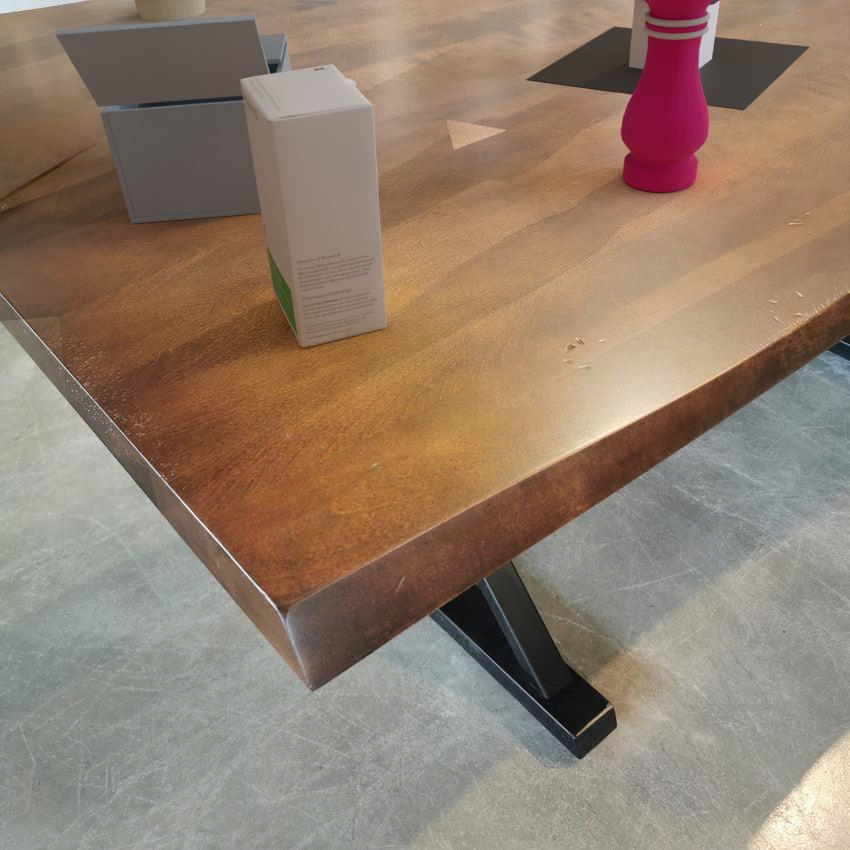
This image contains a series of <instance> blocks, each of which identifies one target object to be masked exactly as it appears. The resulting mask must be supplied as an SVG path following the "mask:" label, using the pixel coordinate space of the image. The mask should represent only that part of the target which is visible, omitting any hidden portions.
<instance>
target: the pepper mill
mask: <svg viewBox="0 0 850 850" xmlns="http://www.w3.org/2000/svg"><path fill="white" fill-rule="evenodd" d="M712 1H713V0H645V2H646V3H647V4H648V6H649V9H650V10H649V11H648V12H646V13H645V15H644V19H645V20H646V21H645V25H644V27H643V31H644V33H645V34H647V35H648V46H647V55H646V60H645V66H644V69H643V72H642V75H641V78H640V80H639V82H638V85H637V87H636V89H635V91H634V93H633V94H631V97H630V99H629V100H628V103H627V104H626V107H625V110H624V113H623V116H622V118H621V119H622V120H621V125H620V138H621V141H622V142H623V144H624V146H625V147H626V148H627V149H628V150H629V152H628V153H626V155H625V156H624V158H623V167H622V179H623V181H624V182H625V183H626V184H627V185H628V186H630V187H633V188H634V189H637V190H640V191H646V192H651V193H672V192H677V191H683V190H685V189H687V188H690V187H691V186H692V185H693V184H694V183H695V182H696V180H697V174H698V169H699V168H698V167H699V159H698V157H697V156H696V155H695V153H696V152H698V150H700V149H701V148H702V147H703V146H704V144H705V142H707V140H708V137H709V131H710V130H709V129H710V115H709V108H708V106H709V105H707V103H706V99H705V96H704V92H703V89H702V84H701V80H700V73H699V50H700V45H701V40H702V35H704V34H706V33H707V32H708V30H709V27H708V20H709V19H710V13H709V12H708V11H706V9H707V7H708V6H709V5H710V4H711V2H712Z"/></svg>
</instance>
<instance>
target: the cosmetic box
mask: <svg viewBox="0 0 850 850" xmlns="http://www.w3.org/2000/svg"><path fill="white" fill-rule="evenodd" d="M240 83H241V89H242V95H243V101H244V107H245V113H246V120H247V126H248V132H249V139H250V145H251V151H252V158H253V164H254V171H255V177H256V183H257V190H258V196H259V202H260V208H261V213H260V214H261V220H262V226H263V233H264V239H265V246H266V252H267V253H266V254H267V259H268V265H269V271H270V272H269V273H270V278H271V284H272V291H273V292H272V293H273V295H274V297H275V299H276V301H277V302H278V304H279V305H278V306H279V307H280V310H281V311H282V313H283V315H284V317H285V319H286V321H287V323H288V325H289V326H290V329H291V331H292V333H293V335H294V337H295V339H296V341H297V343H298V345H299V347H300V346H301V347H302V348H301V347H300V348H301V349H306V348H305V347H307V348H309V347H308V346H310V347H314V346H318V345H322V344H326V343H330V342H335V341H338V340H342V339H347V338H351V337H355V336H360V335H363V334H368V333H371V332H375V331H376V332H377V331H380V330H384V329H387V328H388V320H387V319H388V318H387V307H386V292H385V277H384V259H383V243H382V227H381V213H380V212H381V211H380V197H379V182H378V181H379V180H378V164H377V163H378V162H377V148H376V131H375V130H376V129H375V116H374V105H373V103H371V101H370V100H368V98H367V97H365V95H364V94H363V93H362V92H361V91H360V90H359V89H358V88H357V83H356V82H355V80H353V79H351V78H348V77H346V76H345V75H344V74H343V73H342V72H341V71H340V70H339V69H338V68H337V67H336V66H335V65H334V64H332V63H330V64H323V65H318V66H311V67H306V68H299V69H293V70H292V71H286V72H280V73H273V74H267V75H260V76H254V77H248V78H244V79H240Z"/></svg>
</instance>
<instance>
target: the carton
mask: <svg viewBox="0 0 850 850" xmlns="http://www.w3.org/2000/svg"><path fill="white" fill-rule="evenodd" d="M259 35H260V34H259ZM260 38H261V42H262V46H263V50H264V53H265V57H266V61H267V65H268V68H269V72H270V74H273V73H280V72H286V71H293V70H292V64H291V56H290V50H289V42H288V41H286V40H287V34H286V33H276V34H275V33H274V34H262V35H260ZM100 117H101V118H100V119H101V121H102V124H103V128H104V132H105V135H106V139H107V143H108V145H109V150H110V154H111V157H112V161H113V163H114V167H115V171H116V175H117V178H118V182H119V185H120V189H121V193H122V196H123V200H124V204H125V207H126V211H127V214H128V218H129V221H130V224H145V223H159V222H168V221H169V222H171V221H181V220H182V221H183V220H195V219H196V220H197V219H205V218H206V219H208V218H219V217H220V218H221V217H230V216H231V217H233V216H243V215H244V216H245V215H257V214H261V208H260V202H259V196H258V190H257V183H256V177H255V171H254V164H253V158H252V151H251V145H250V139H249V132H248V126H247V120H246V113H245V107H244V101H243V96H231V97H218V98H205V99H192V100H179V101H166V102H154V103H141V104H128V105H115V106H103V109H102V110H101V112H100Z"/></svg>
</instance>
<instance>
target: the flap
mask: <svg viewBox="0 0 850 850" xmlns="http://www.w3.org/2000/svg"><path fill="white" fill-rule="evenodd" d="M55 37H56V38H57V40H58V42H59V43H60V45H61V46H62V49H63V51H64V52H65V53H66V55H67V57H68V58H69V61H70V62H71V64H72V65H73V66H74V69H75V70H76V72H77V74H78V76H79V77H80V78H81V80H82V82H83V84H84V85H85V87H86V89H87V90H88V92H89V94H90V96H91V97H92V99H93V100H94V102H95V104H96V105H97V107H99V108H101V107H105V106H115V105H128V104H141V103H154V102H166V101H179V100H192V99H205V98H218V97H231V96H243V95H242V89H241V83H240V79H244V78H248V77H254V76H260V75H267V74H270V72H269V68H268V65H267V61H266V57H265V53H264V50H263V46H262V42H261V38H260V31H259V28H258V23H257V20H256V15H254V14H252V15H251V14H250V15H240V16H226V17H215V18H214V17H213V18H199V19H198V18H197V19H184V20H175V21H162V22H146V23H145V22H144V23H133V24H121V25H120V24H119V25H106V26H93V27H92V26H91V27H80V28H67V29H55Z"/></svg>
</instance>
